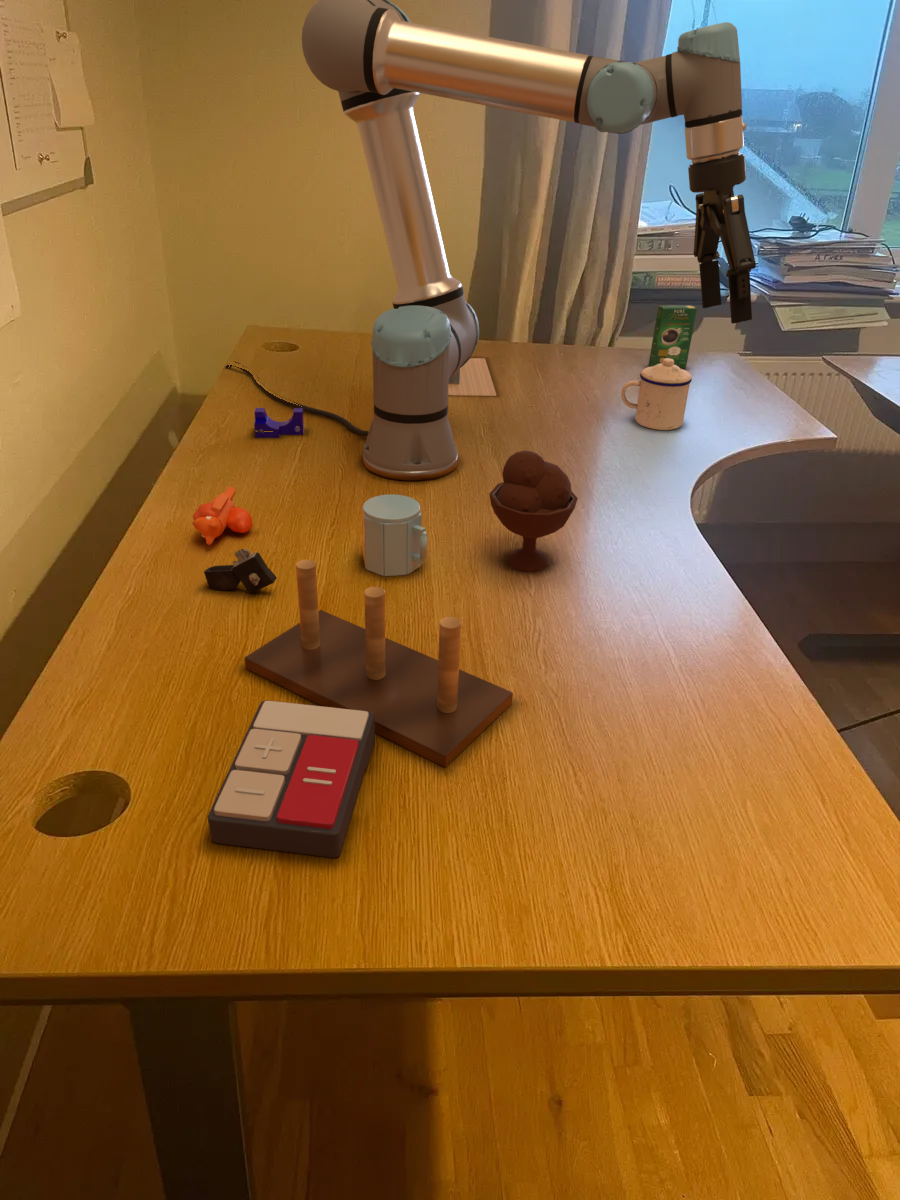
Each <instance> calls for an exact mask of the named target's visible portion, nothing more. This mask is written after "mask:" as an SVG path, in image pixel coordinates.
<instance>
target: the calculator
mask: <svg viewBox="0 0 900 1200" xmlns="http://www.w3.org/2000/svg"><path fill="white" fill-rule="evenodd" d="M375 742H376V733H375V722H374V713H373V712H370V711H361V710H352V709H343V708H333V707H324V706H320V705H313V704H305V703H295V702H286V701H276V700H262V701H261V702H260V703H259V705H258V707H257V709H256V712H255V714H254V716H253V718H252V720H251V722H250V724H249V726H248V729H247V731H246V733H245V735H244V737H243V740H242V741H241V744H240V746H239V748H238V750H237V752H236V753H235V756H234V759H233V761H232V763H231V765H230V767H229V769H228V772H227V774H226V776H225V778H224V780H223V782H222V784H221V786H220V788H219V791H218V792H217V795H216V797H215V799H214V802H213V804H212V806H211V808H210V810H209V812H208V814H207V822H208V829H209V834H210V838H211V842H213V843H214V844H221V845H227V846H236V847H237V846H238V847H244V848H251V849H252V848H253V849H262V850H268V851H278V852H283V853H284V852H285V853H294V854H301V855H308V856H309V855H310V856H318V857H327V858H332V859H333V858H338V857H340V856H341V854H342V851H343V847H344V844H345V840H346V837H347V834H348V831H349V827H350V823H351V821H352V820H351V819H352V817H353V813H354V809H355V806H356V802H357V800H358V795H359V792H360V790H361V786H362V783H363V779H364V776H365V771H366V769H367V767H368V766H369V764H370V761H371V757H372V753H373V750H374V746H375Z"/></svg>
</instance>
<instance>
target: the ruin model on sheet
mask: <svg viewBox="0 0 900 1200" xmlns="http://www.w3.org/2000/svg"><path fill="white" fill-rule="evenodd" d="M448 396H473V397H474V396H478V397H479V396H481V397H483V396H485V397H488V396H490V397H497V393H496V389H495V386H494V383H493V380H492V377H491V373H490V370H489V368H488V364H487V361H486V358H485V357H481V358H480V357H479V358H478V357H470V359H469V360H468V362H467V363H466V364H465V365H464V366H462V367H461V368H459V369H458V370H457V371H456V372H455V373H454V374H453V375H452V376H451V377H450V378H449V387H448Z"/></svg>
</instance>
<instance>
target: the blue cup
mask: <svg viewBox="0 0 900 1200" xmlns="http://www.w3.org/2000/svg"><path fill="white" fill-rule="evenodd" d="M361 514H362V515H361V519H362V559H363V564H364V569H365V570H366V571H368V572H372V573H375V574H376V575H379V576H382V577H395V576H396V577H397V576H407V575H409V574H411V573H413V572H414V571H415V570H418V569H419V568H420V567H421V566H422V564H424V563H425V562H426V561H427V559H428V532H427V531H426V527H424V526H422V525H423V523H422V522H423V520H422V519H423V518H422V517H423V515H422V514H423V513H422V510H421V504H420V503H419V501H417V500H416V499H415V498H412V497H410V496H407V495H403V494H393V493H391V494H382V495H376V496H373V497H370V498H369V499H367V500H366V501H365V502H364V503H363V504H362V508H361Z"/></svg>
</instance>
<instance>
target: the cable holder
mask: <svg viewBox="0 0 900 1200" xmlns="http://www.w3.org/2000/svg"><path fill="white" fill-rule="evenodd" d="M292 413H293V414H292V415H291V417H290V418H288V419H287V420H285V421H277V420H273V418H271V417H270V416H269V415H268V414H267V411H266V408H265V407H255V409H254V421H253V424H254V426H253V427H254V438H259V439H260V438H261V439H262V438H263V439H264V438H265V439H266V438H267V439H269V438H270V439H271V438H272V439H275V438H277V439H279V438H280V436H281V435H295V436H296V435H297V436H298V435H300V436H301V435H305V418H304V417H305V416H304V411H303V408H294V407H293V410H292ZM255 430H257V431H258V432H255ZM264 431H273V432H264Z"/></svg>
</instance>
